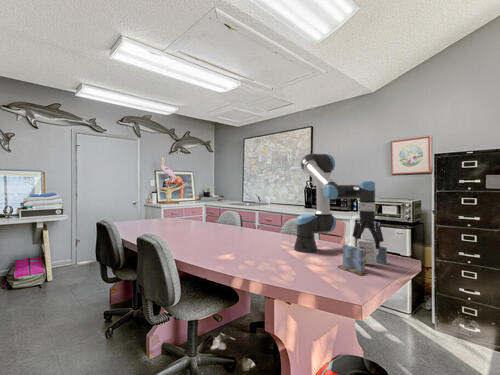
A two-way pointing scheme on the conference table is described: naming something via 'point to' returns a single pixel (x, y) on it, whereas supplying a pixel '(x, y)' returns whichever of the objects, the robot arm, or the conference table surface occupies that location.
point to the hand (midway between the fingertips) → (367, 252)
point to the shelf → (353, 260)
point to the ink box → (368, 250)
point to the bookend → (382, 256)
